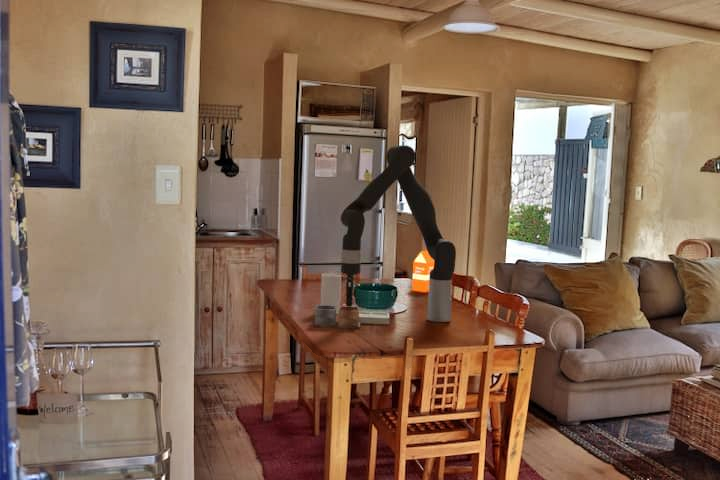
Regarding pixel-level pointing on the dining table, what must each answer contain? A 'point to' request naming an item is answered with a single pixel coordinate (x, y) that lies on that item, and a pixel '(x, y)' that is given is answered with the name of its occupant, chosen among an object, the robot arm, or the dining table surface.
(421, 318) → the dining table surface
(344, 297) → the ball terracotta
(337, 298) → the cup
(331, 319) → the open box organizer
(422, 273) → the orange juice
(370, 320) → the pocket board
